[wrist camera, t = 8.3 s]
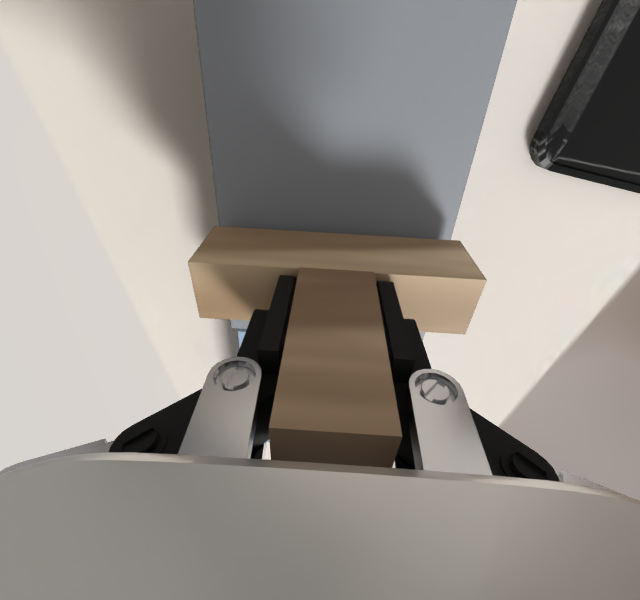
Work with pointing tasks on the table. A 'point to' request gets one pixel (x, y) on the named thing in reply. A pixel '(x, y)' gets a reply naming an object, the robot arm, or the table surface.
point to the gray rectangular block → (347, 110)
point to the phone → (598, 105)
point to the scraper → (335, 327)
